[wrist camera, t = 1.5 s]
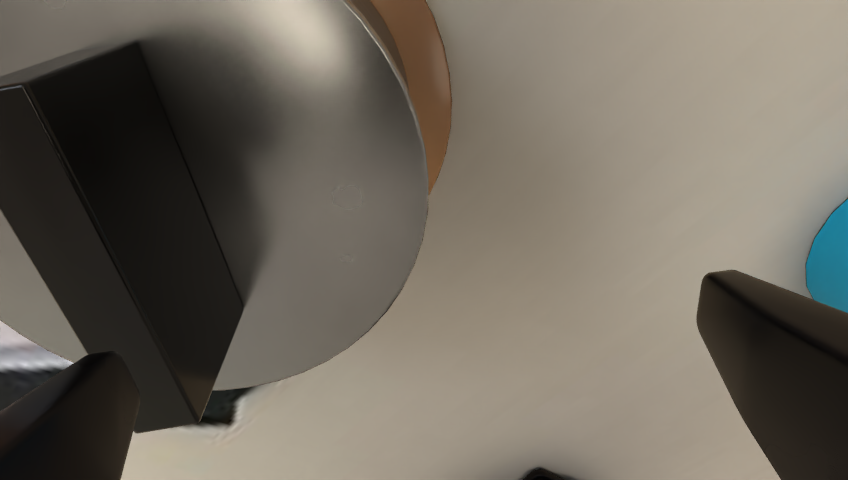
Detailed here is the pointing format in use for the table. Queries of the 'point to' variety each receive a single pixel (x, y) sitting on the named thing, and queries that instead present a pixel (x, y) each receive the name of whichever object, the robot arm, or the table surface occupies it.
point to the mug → (830, 262)
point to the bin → (204, 187)
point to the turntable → (423, 73)
